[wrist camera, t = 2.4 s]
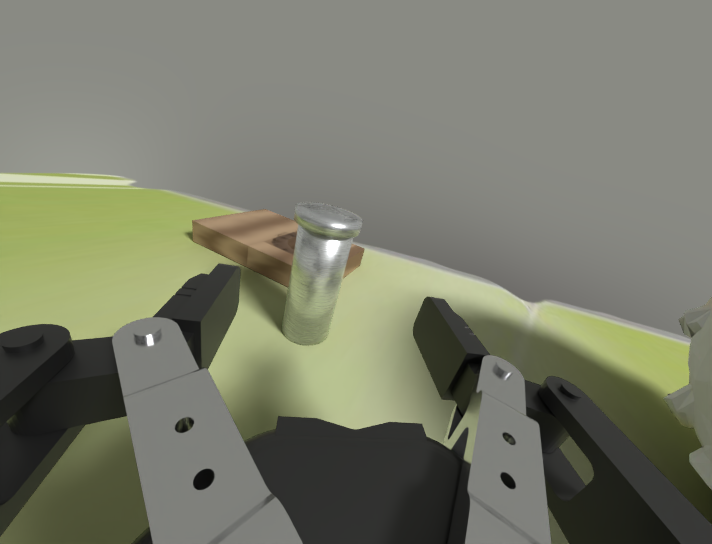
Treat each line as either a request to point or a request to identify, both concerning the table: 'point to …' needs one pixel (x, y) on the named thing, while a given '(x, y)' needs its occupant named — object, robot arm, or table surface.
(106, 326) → the table surface
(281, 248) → the block
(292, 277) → the silver metal peg
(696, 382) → the sculpture
